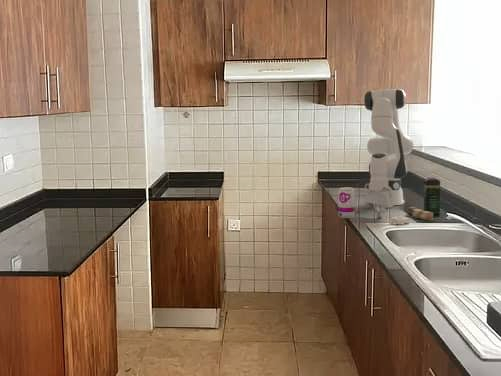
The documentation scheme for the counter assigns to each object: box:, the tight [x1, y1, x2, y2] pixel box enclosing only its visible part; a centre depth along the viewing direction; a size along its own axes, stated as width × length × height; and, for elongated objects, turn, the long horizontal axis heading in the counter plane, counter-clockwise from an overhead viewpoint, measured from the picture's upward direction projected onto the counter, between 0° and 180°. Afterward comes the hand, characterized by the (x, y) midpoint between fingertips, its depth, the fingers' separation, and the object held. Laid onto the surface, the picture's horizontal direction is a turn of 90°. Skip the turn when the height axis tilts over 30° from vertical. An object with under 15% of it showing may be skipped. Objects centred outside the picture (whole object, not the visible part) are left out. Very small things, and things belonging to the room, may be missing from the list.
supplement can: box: [337, 186, 356, 219], centre depth 297 cm, size 8×8×15 cm
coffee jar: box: [423, 177, 441, 216], centre depth 297 cm, size 10×8×19 cm
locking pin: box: [376, 205, 383, 220], centre depth 290 cm, size 3×3×7 cm
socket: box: [390, 216, 410, 225], centre depth 275 cm, size 6×6×2 cm
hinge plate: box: [405, 213, 435, 221], centre depth 289 cm, size 18×6×1 cm, turn 20°
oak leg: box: [407, 206, 434, 219], centre depth 288 cm, size 17×4×3 cm, turn 19°
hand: (379, 213), depth 290 cm, fingers closed on locking pin, 3 cm apart
